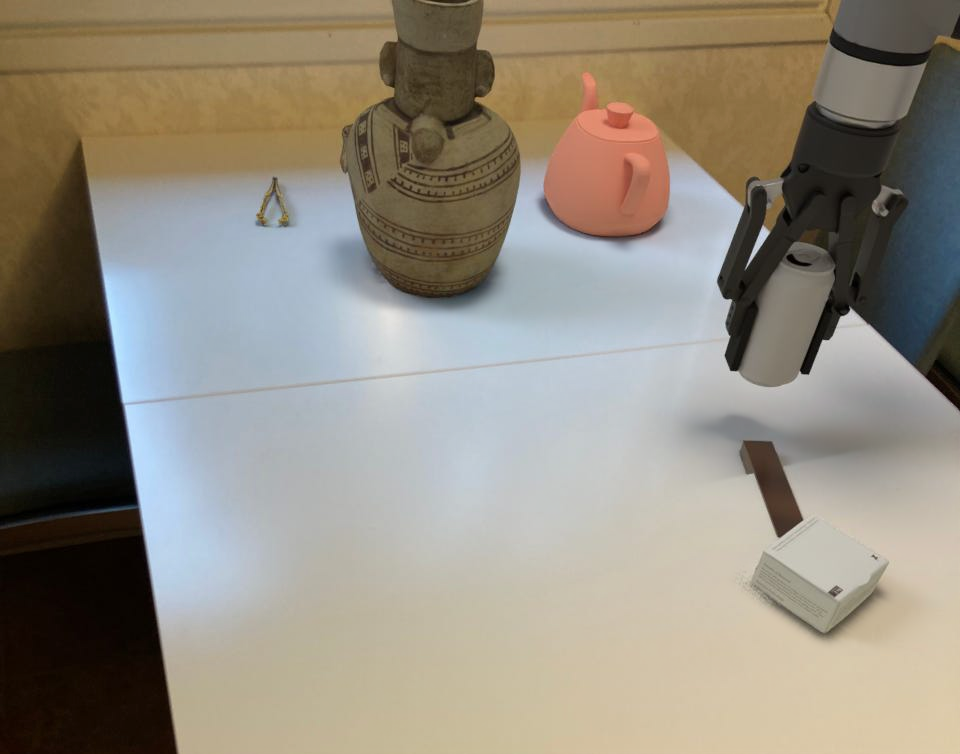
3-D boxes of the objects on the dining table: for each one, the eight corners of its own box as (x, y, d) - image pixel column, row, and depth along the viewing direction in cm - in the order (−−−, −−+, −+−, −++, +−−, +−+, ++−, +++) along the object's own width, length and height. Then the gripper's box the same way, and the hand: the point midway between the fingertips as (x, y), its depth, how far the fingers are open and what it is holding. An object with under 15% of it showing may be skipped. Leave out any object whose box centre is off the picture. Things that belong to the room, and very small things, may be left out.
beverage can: (718, 368, 91) (754, 250, 82) (756, 347, 95) (796, 231, 86) (770, 399, 89) (814, 280, 80) (808, 377, 92) (854, 260, 83)
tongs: (284, 182, 126) (283, 167, 125) (291, 231, 118) (290, 216, 117) (253, 183, 125) (251, 167, 124) (257, 232, 118) (256, 216, 116)
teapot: (518, 171, 134) (528, 67, 124) (626, 169, 138) (645, 67, 127) (569, 255, 118) (586, 144, 108) (690, 250, 122) (717, 142, 112)
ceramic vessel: (397, 216, 122) (399, -63, 99) (537, 267, 116) (573, -19, 93) (307, 272, 111) (286, -28, 88) (456, 332, 105) (475, 25, 82)
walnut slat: (804, 548, 85) (810, 536, 84) (773, 547, 85) (778, 535, 84) (767, 452, 94) (772, 440, 93) (739, 451, 94) (743, 439, 93)
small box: (794, 553, 84) (814, 510, 81) (868, 602, 81) (893, 560, 77) (743, 591, 81) (761, 549, 77) (819, 645, 77) (841, 603, 73)
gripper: (955, 100, 77) (850, 348, 94) (727, 83, 75) (663, 339, 93) (991, 137, 72) (873, 391, 89) (748, 120, 70) (676, 382, 88)
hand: (766, 364), depth 91 cm, fingers closed on beverage can, 6 cm apart
